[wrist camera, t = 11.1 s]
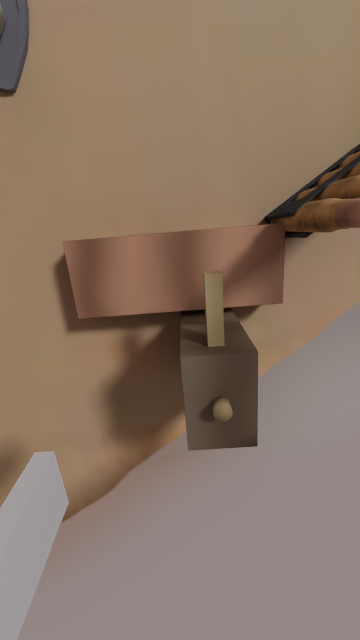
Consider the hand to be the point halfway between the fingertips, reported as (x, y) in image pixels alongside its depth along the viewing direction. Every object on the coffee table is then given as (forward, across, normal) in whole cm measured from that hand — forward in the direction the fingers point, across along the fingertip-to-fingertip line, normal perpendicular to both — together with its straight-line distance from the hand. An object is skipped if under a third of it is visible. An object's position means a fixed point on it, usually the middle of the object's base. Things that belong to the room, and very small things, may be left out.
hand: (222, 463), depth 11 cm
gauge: (+13, +1, +2) cm, 13 cm away
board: (+13, -1, +6) cm, 15 cm away
